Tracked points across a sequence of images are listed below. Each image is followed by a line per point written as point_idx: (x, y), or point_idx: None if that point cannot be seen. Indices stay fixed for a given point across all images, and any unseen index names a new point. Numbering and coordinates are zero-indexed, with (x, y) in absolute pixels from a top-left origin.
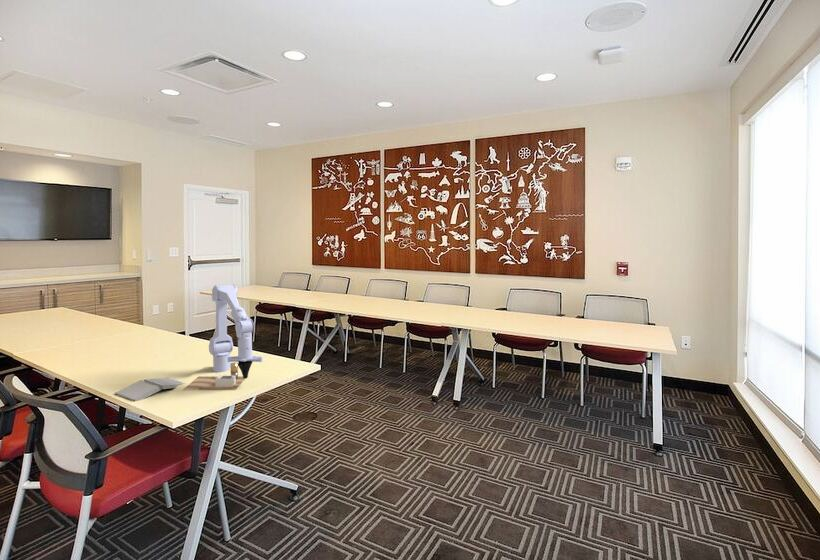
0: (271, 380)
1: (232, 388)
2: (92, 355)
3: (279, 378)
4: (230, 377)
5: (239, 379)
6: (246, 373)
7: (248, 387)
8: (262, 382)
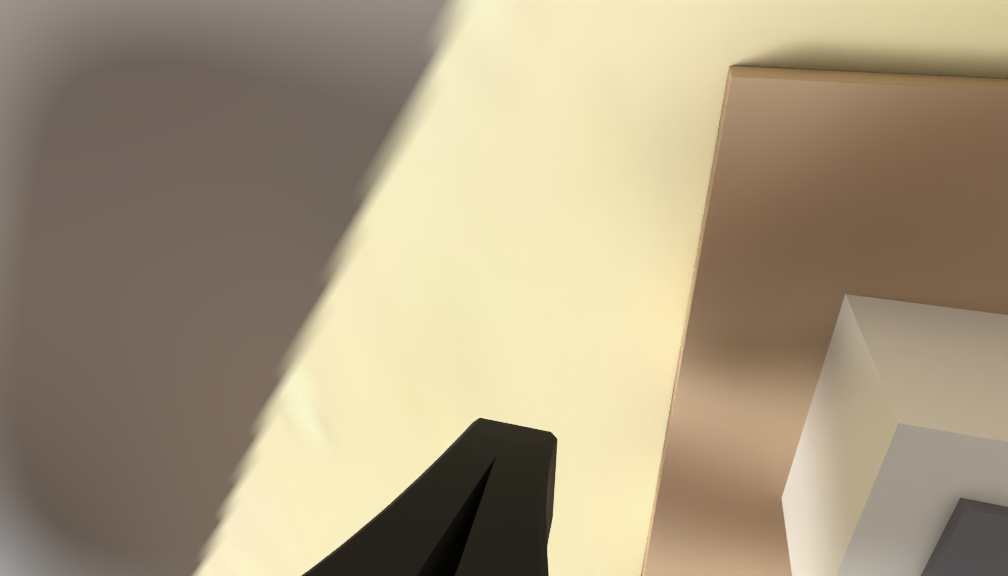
0: (296, 530)
1: (828, 187)
2: None
3: (238, 563)
4: (959, 549)
5: None
6: (399, 503)
7: (522, 339)
8: (379, 495)
